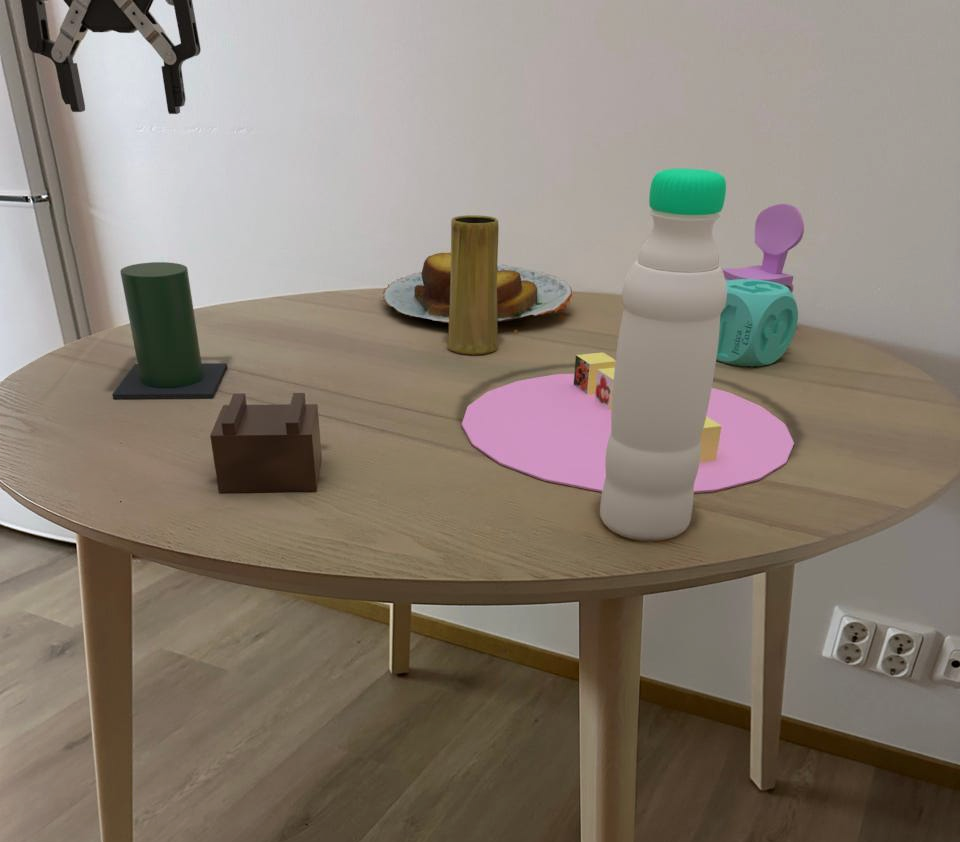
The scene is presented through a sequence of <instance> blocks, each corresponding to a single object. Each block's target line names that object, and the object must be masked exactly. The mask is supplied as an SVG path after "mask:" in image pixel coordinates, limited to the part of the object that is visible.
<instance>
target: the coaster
mask: <svg viewBox="0 0 960 842" xmlns="http://www.w3.org/2000/svg"><path fill="white" fill-rule="evenodd" d="M227 368H228V363H226V362H223V363H221V362H220V363H219V362H218V363H213V362H212V363H210V362H209V363H202V370H203V378H202V379H201V380H200V381H199V382H196V383H194V384H191V385H187V386H182V387H175V388H158V387H151V386H147V385H145V384H143V383H142V382H141V379H140V374H139V368H138V363H134V364H133V366H132V367H131V368H130V370H129V371H128V372H127V373H126V375H125V377H124V378H123V379H122V380H121V382H120V383H119V385H118V386H117V387H116V388H115V390H114V392H113V393H112V394H111V395H112V399H113V400H134V399H135V400H137V399H138V400H140V399H141V400H142V399H143V400H145V399H149V400H152V399H154V400H155V399H213V398H214V397H215V395H216V393H217V390H218V388H219V386H220V384H221V382H222V380H223V377H224V376H225V373H226V371H227Z"/></svg>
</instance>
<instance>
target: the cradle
mask: <svg viewBox="0 0 960 842" xmlns="http://www.w3.org/2000/svg"><path fill="white" fill-rule="evenodd" d="M319 418H320V417H319V407H318V404H317V403H306V394H305V392H293V393H292V396H291V400H290V404H289V403H288V404H282V403H279V404H247V397H246V393H243V392H242V393H238V392H237V393H235V392H234V393H233V395H232V397H231V399H230V401H229V404H223V405H222V407H221V409H220V412H219V413H218V416H217V419H216V421H215V423H214V426H213V428H212V430H211V433H210V436H209V437H210V443H211V451H212V457H213V464H214V471H215V477H216V484H217V489H218V493H219V494H226V493H227V494H234V493H235V494H237V493H238V494H239V493H241V494H242V493H295V492H296V493H298V492H303V493H304V492H317V491H318V486H319V478H320V473H321V465H322V459H323V456H322V455H323V454H322V443H321V432H320V431H321V430H320V419H319Z"/></svg>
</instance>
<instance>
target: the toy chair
mask: <svg viewBox="0 0 960 842" xmlns="http://www.w3.org/2000/svg"><path fill="white" fill-rule="evenodd" d="M804 233H805V224H804V219H803V216H802V213H801V211H800V210H799V208H798V207H796V206H795V205H792V204H789V203H777V204H774V205H771V206H768V207H765V209H763V210H762V211H760V213H759V214H758V215H757V217H756V220H755V225H754V244H755V245H756V246H757V247H758V248H759V249H760V250H761V251H762V253H763V257H762V264H761V265H750V266H746V267H738V268H737V267H735V268H733V267H732V268H731V267H730V268H729V267H728V268H727V267H726V268H722V270H723V274H724V277H725V281H728V280H735V279H755V280H764V281H770V282H775V283H779V284H782V285H784V286H786V287H788V288H789V290H790V291H791V293H792V294H793V293H794V285H793V281H794V275H792V274H788V273H784V272H783V270H784V267H785V263H786V259H787V256H788V253H789V251H790V250H792V249H793V248H795V247H797V246H798V245H799V243H800V242H801V241H802V240H803V236H804Z"/></svg>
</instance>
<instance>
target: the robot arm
mask: <svg viewBox="0 0 960 842" xmlns="http://www.w3.org/2000/svg"><path fill="white" fill-rule="evenodd" d="M49 1H50V0H20V3H21V8H22V14H23V15H22V16H23V22H24V26H25V35H26V40H27V46H28V49H29V50H30V51H31V52H32V53H34V54H38V55H41V56H44V57H46V58H48V59H49V60H51V61H52V62H53V64H54V66H55V70H56V75H57V76H56V77H57V80H58V85H59V90H60V94H61V98H62V101H63V103H64V104H65V105H69V107H70V110H71V112H72V113H81V112H82V113H83V112H85V111H86V103H85V97H84V93H83V88H82V83H81V78H80V77H81V76H80V73H79V68H78V67H79V66H78V63H77V62H74V57H75V55H76V53H77V51H78V49H79V47H80V45H81V43H82V41H83V40H84V39H85V37H86V35H87V34H88V31H91V32H92V33H109V32H112V31H113V32H116V33H119V34H134V33H136V32H137V31H138V32H139V33H140V35H141V37H142V38H144V39H145V41H146V42H147V43H149V44H150V45H151V46H152V48H153V49H154V50H155V52H156V53H157V54H158V55H159V57H160V58H161V59H162V61H163V65H162V66H161V74H162V79H163V80H162V81H163V86H164V88H163V89H164V93H165V94H164V95H165V101H166V108H167V112H168V115H178V114H180V113H181V108H183V107H185V104H186V99H187V97H186V92H185V85H184V77H183V69H182V66H183V63H184V62H186V61H187V60H189V59H191V58H194V57H197V56H199V55H200V54H201V51H202V50H201V42H200V38H199V32H198V27H197V20H196V16H195V15H196V14H195V8H194V4H193V0H165V3H167V5H169V6H172V7H173V9H174V14H175V19H176V24H177V28H178V29H177V30H178V36H179V40H180V43H179V44H176V45H175V44H174V43H173V41H172V39H170V37H169V36H168V34H166V31H165V30H164V28H163V27H162V26H161V24H160V23H159V21H158V20H157V19H156V18H155V16H153V14H152V12H151V11H150V9H151V7H152V5H153V3H154V1H155V0H63V2H64V3H65V4H66V5H67V7H68V10H67V12H66V14H65V17H64V19H63V21H62V23H61V25H60V28H59V33H58V36H57V38H56V39H55V41H54V40H51V37H50V36H51V35H50V30H49V24H48V15H47V9H46V3H48V2H49Z"/></svg>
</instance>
